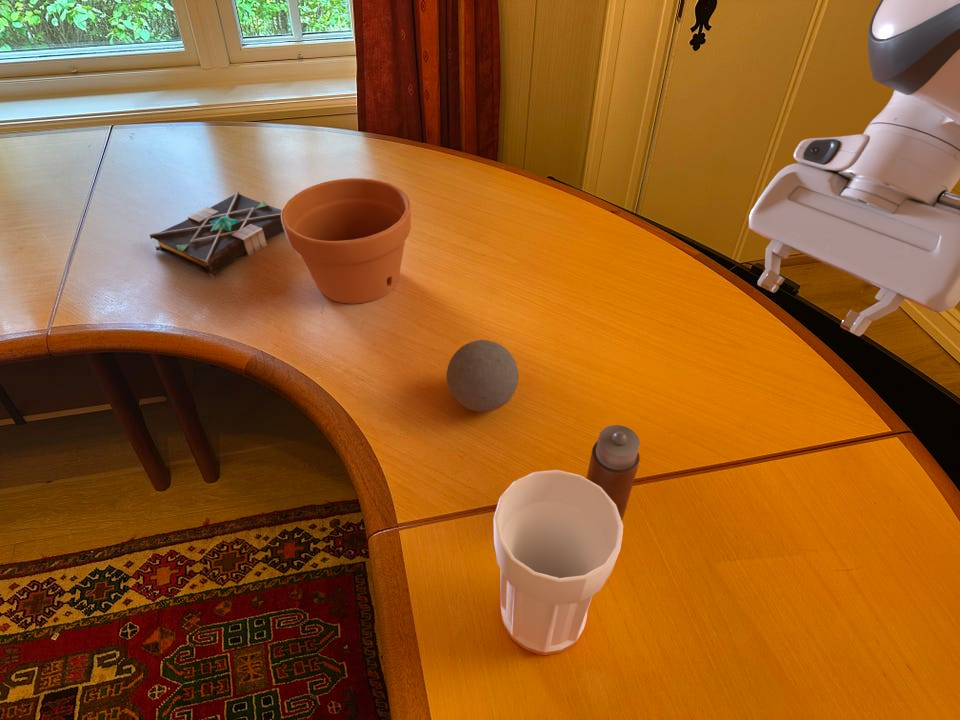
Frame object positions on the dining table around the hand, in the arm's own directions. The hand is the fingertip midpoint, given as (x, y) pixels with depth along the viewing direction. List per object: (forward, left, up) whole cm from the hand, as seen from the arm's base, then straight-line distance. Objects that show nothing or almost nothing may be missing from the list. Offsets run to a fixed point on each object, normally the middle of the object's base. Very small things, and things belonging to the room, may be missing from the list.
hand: (805, 309), depth 59 cm
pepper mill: (-3, +17, -27) cm, 32 cm away
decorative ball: (+17, +30, -27) cm, 44 cm away
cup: (-15, +27, -27) cm, 41 cm away
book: (+66, +75, -27) cm, 103 cm away
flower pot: (+49, +49, -27) cm, 74 cm away
